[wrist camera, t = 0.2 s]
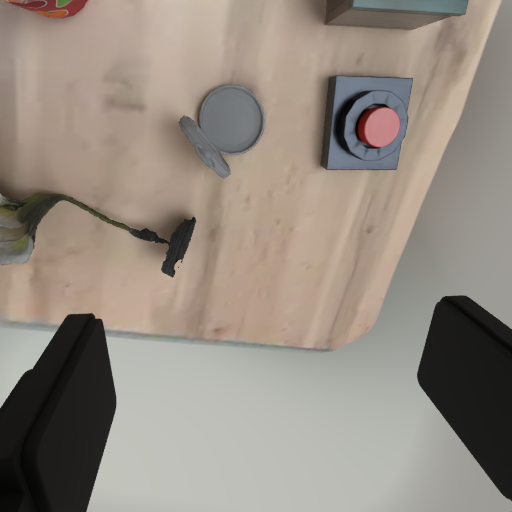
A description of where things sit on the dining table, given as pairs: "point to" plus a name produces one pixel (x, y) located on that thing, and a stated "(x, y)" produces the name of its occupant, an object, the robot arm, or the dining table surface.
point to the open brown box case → (375, 17)
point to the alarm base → (349, 113)
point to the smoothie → (51, 6)
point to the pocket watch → (225, 126)
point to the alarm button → (378, 126)
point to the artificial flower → (37, 205)
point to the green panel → (413, 6)
